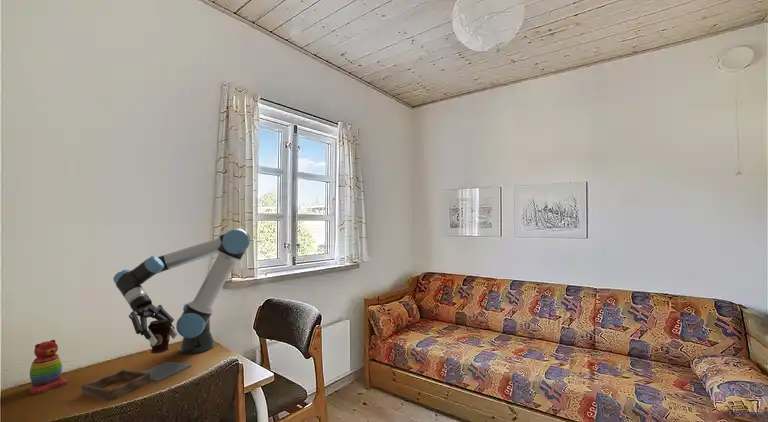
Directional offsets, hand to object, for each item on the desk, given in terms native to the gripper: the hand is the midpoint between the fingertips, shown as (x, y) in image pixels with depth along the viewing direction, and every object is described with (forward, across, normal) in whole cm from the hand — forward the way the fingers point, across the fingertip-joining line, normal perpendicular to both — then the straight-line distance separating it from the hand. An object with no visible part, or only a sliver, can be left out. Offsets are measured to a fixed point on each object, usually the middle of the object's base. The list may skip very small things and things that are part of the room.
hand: (165, 340), depth 153 cm
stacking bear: (-15, +23, -35) cm, 45 cm away
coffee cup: (+1, 0, -6) cm, 6 cm away
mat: (+8, -1, -12) cm, 14 cm away
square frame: (+6, +16, -14) cm, 22 cm away
